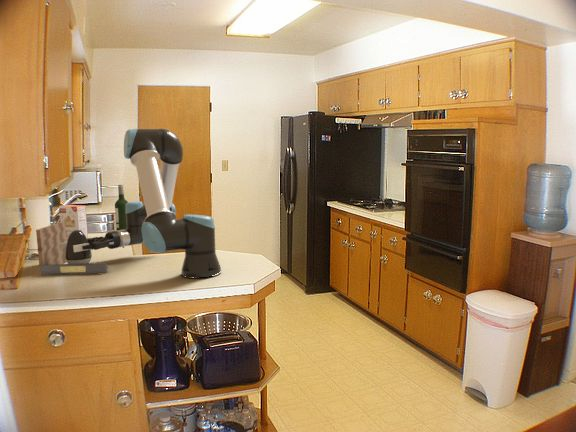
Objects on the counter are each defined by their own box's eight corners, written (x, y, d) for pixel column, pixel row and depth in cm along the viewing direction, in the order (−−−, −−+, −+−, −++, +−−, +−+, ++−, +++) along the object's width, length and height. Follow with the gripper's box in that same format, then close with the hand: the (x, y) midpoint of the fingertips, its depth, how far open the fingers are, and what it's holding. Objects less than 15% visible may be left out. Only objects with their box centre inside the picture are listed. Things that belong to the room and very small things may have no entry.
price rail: (105, 273, 202) (105, 263, 201) (40, 275, 202) (39, 265, 201) (107, 272, 204) (106, 262, 203) (43, 274, 204) (42, 264, 203)
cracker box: (61, 244, 272) (58, 205, 269) (71, 242, 277) (67, 204, 274) (79, 246, 265) (76, 206, 263) (88, 243, 271) (85, 205, 268)
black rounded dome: (95, 262, 216) (92, 227, 214) (88, 268, 206) (85, 231, 204) (71, 263, 215) (68, 228, 213) (62, 269, 205) (59, 232, 203)
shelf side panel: (43, 273, 205) (39, 229, 202) (40, 273, 205) (36, 230, 202) (68, 260, 229) (65, 221, 226) (65, 260, 229) (62, 221, 226)
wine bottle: (116, 236, 293) (112, 184, 289) (130, 235, 296) (126, 183, 292) (117, 238, 286) (114, 185, 282) (132, 237, 289) (128, 184, 285)
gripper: (131, 250, 217) (82, 259, 200) (104, 245, 231) (55, 253, 214) (130, 233, 216) (80, 241, 199) (102, 228, 230) (54, 236, 213)
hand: (67, 247), depth 206 cm, fingers closed on black rounded dome, 9 cm apart
